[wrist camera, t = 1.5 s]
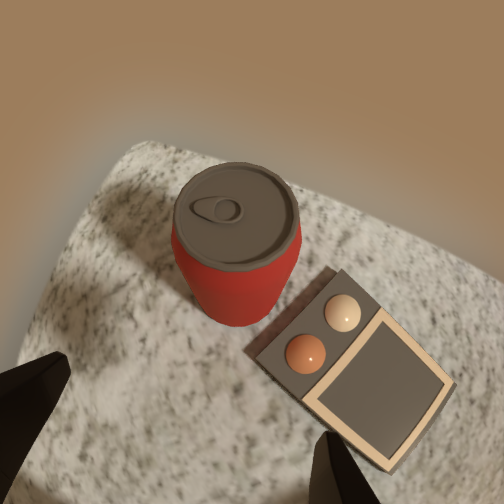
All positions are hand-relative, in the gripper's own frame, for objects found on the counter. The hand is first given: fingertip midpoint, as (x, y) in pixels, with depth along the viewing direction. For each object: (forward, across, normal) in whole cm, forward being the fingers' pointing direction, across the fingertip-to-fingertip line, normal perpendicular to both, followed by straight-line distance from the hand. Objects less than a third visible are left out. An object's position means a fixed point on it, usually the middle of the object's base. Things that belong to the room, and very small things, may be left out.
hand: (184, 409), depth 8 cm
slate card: (+12, -12, +8) cm, 18 cm away
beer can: (+16, 0, +4) cm, 16 cm away
